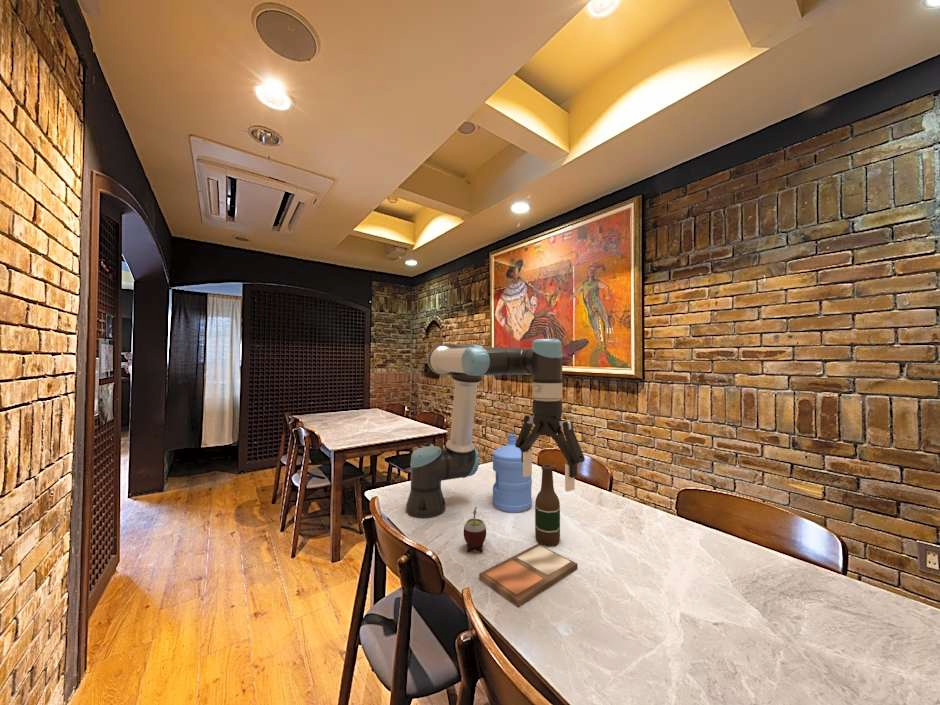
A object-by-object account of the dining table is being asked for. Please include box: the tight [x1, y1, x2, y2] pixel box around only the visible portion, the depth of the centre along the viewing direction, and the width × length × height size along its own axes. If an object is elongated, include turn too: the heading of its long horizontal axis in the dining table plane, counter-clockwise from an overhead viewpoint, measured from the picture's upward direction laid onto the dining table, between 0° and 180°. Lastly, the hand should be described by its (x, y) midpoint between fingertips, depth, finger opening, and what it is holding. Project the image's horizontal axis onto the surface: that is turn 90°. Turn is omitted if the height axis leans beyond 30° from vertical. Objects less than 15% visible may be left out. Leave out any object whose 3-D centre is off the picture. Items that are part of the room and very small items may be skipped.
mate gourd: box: [463, 506, 487, 554], centre depth 110 cm, size 8×8×15 cm
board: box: [478, 543, 578, 608], centre depth 97 cm, size 14×24×2 cm, turn 130°
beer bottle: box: [534, 464, 561, 548], centre depth 115 cm, size 8×8×24 cm
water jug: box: [491, 433, 533, 513], centre depth 144 cm, size 16×16×28 cm
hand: (547, 482), depth 92 cm, fingers open, 13 cm apart
